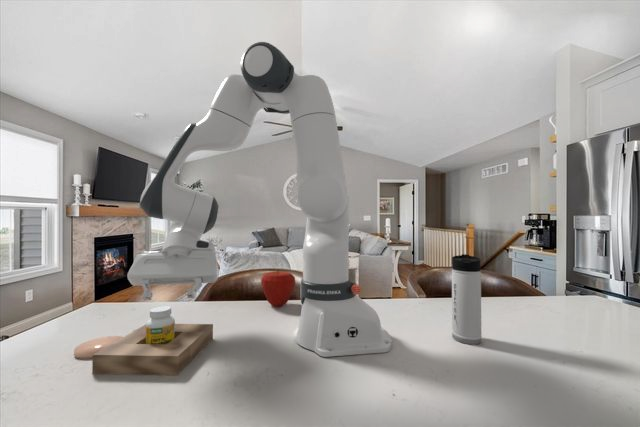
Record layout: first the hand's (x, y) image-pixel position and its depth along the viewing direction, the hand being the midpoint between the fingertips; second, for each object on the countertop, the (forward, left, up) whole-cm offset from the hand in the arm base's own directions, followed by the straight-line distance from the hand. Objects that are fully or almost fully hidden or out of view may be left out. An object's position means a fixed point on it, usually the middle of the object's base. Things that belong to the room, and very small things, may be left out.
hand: (169, 298), depth 66 cm
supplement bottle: (-1, +6, -11) cm, 12 cm away
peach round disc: (+13, +4, -10) cm, 17 cm away
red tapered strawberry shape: (-20, -29, -11) cm, 37 cm away
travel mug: (-70, -4, -10) cm, 71 cm away
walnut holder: (-1, +6, -10) cm, 12 cm away
